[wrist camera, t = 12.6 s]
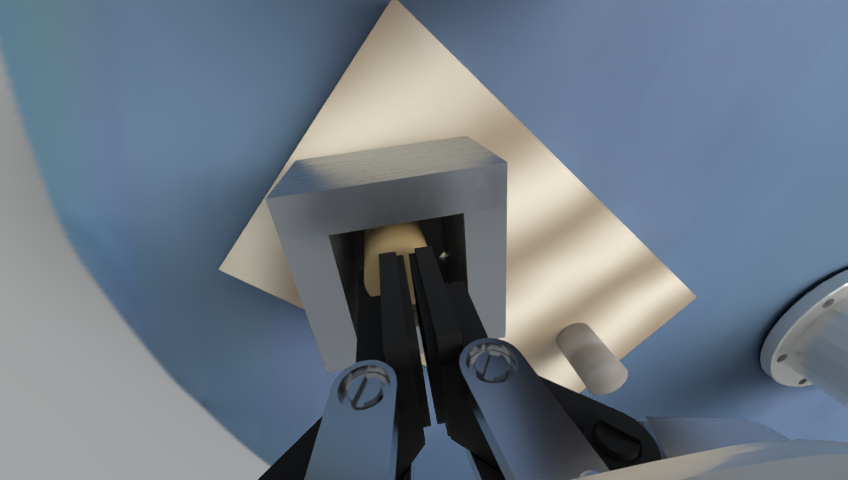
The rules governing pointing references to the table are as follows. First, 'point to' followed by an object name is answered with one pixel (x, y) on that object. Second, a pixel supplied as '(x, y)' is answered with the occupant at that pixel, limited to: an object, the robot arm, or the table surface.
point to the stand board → (526, 213)
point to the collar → (387, 205)
